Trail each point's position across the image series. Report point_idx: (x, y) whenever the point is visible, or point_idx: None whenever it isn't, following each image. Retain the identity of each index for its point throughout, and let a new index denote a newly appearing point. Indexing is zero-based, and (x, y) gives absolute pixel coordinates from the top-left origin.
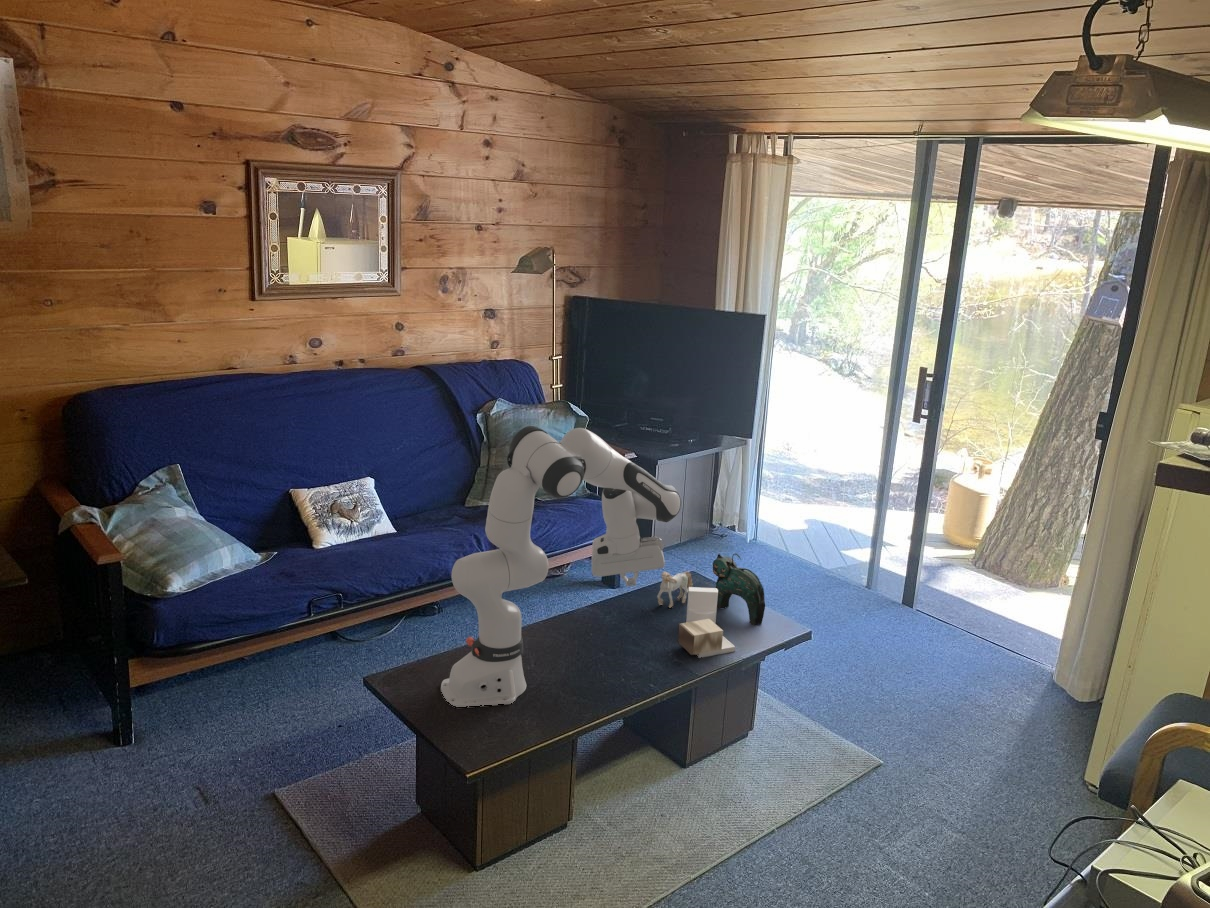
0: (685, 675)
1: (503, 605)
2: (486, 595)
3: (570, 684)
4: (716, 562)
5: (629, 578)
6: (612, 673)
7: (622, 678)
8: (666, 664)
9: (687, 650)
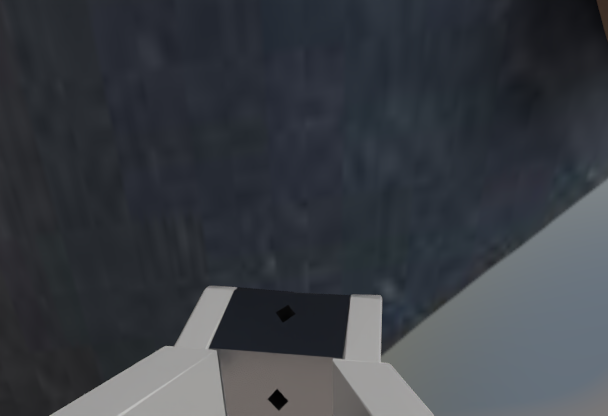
0: (538, 199)
1: None
2: None
3: (63, 326)
4: None
5: (256, 367)
6: (222, 225)
7: (268, 257)
8: (468, 114)
9: (602, 13)
